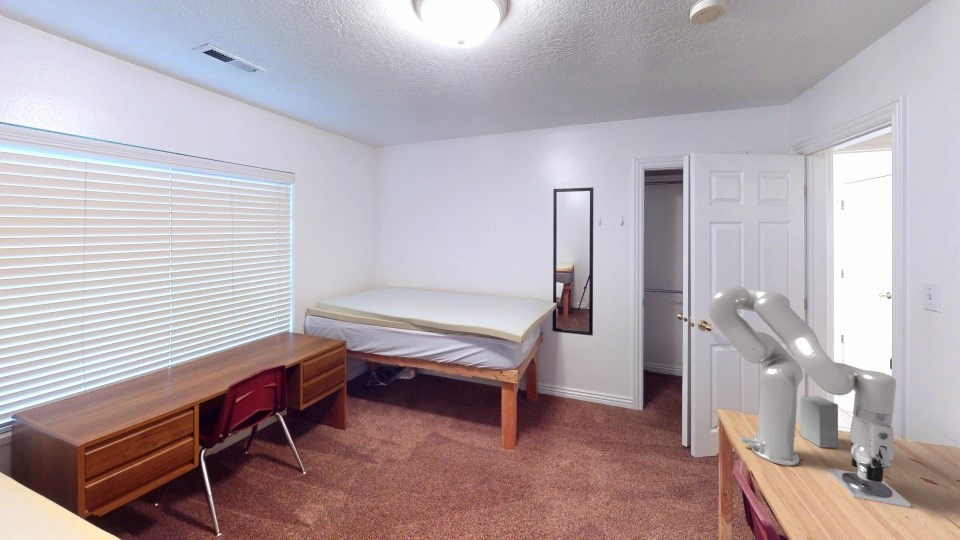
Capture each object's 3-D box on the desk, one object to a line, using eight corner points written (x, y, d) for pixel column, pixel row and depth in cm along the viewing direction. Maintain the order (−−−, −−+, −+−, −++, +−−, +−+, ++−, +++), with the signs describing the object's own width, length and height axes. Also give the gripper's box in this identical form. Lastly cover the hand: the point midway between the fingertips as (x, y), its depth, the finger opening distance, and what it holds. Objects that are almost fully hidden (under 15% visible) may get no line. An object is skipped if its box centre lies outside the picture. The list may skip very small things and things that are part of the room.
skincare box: (838, 448, 122) (842, 405, 121) (817, 448, 123) (820, 404, 122) (816, 435, 131) (820, 394, 130) (796, 434, 131) (799, 394, 130)
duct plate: (853, 497, 99) (853, 492, 99) (827, 470, 111) (828, 467, 110) (910, 507, 95) (910, 503, 95) (877, 479, 107) (877, 475, 107)
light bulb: (868, 475, 106) (872, 437, 105) (890, 491, 99) (895, 451, 98) (841, 472, 107) (845, 435, 106) (861, 488, 100) (865, 448, 99)
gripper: (914, 432, 92) (907, 496, 93) (868, 403, 108) (862, 459, 110) (877, 427, 94) (870, 490, 96) (837, 399, 110) (832, 454, 112)
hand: (866, 473), depth 103 cm, fingers closed on light bulb, 5 cm apart
